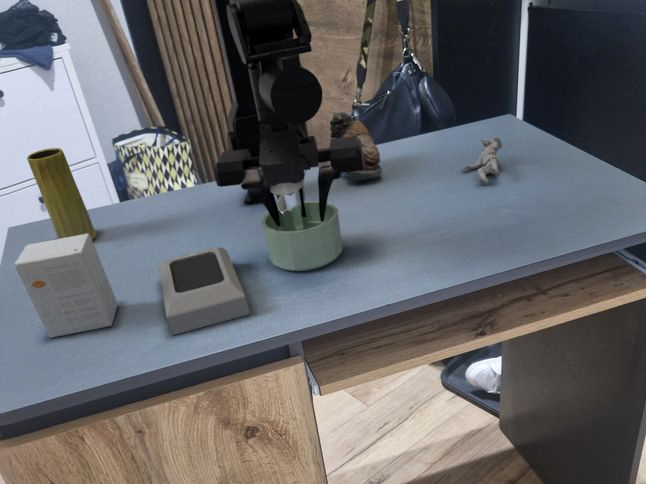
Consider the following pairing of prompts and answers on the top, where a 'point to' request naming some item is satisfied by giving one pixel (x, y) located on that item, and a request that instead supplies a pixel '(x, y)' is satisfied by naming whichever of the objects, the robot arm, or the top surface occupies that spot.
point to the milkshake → (290, 205)
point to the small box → (67, 285)
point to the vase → (60, 193)
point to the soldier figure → (487, 160)
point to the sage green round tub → (305, 240)
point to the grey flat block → (201, 290)
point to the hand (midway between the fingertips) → (300, 223)
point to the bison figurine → (371, 157)
